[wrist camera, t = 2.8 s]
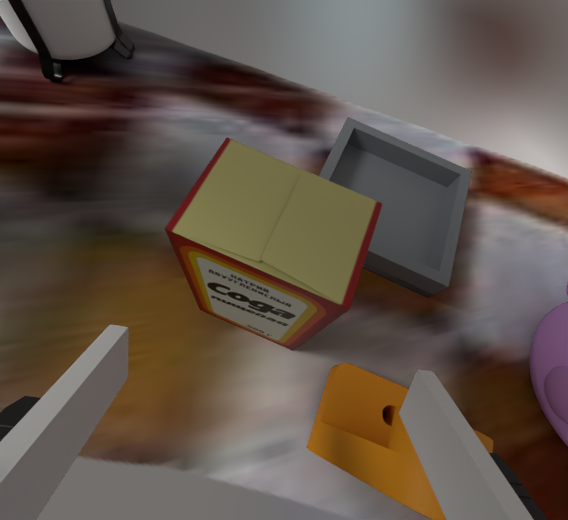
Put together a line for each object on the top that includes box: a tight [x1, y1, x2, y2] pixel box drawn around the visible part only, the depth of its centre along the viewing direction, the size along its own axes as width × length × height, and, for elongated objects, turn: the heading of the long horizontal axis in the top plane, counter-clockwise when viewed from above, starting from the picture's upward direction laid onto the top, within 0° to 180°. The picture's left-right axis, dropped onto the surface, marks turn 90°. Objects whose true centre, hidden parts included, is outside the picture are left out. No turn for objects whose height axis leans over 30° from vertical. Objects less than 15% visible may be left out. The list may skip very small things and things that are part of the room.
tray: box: [319, 117, 472, 297], centre depth 35 cm, size 16×16×4 cm
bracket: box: [307, 363, 493, 520], centre depth 21 cm, size 11×7×12 cm
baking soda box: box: [165, 138, 383, 351], centre depth 23 cm, size 10×6×16 cm
